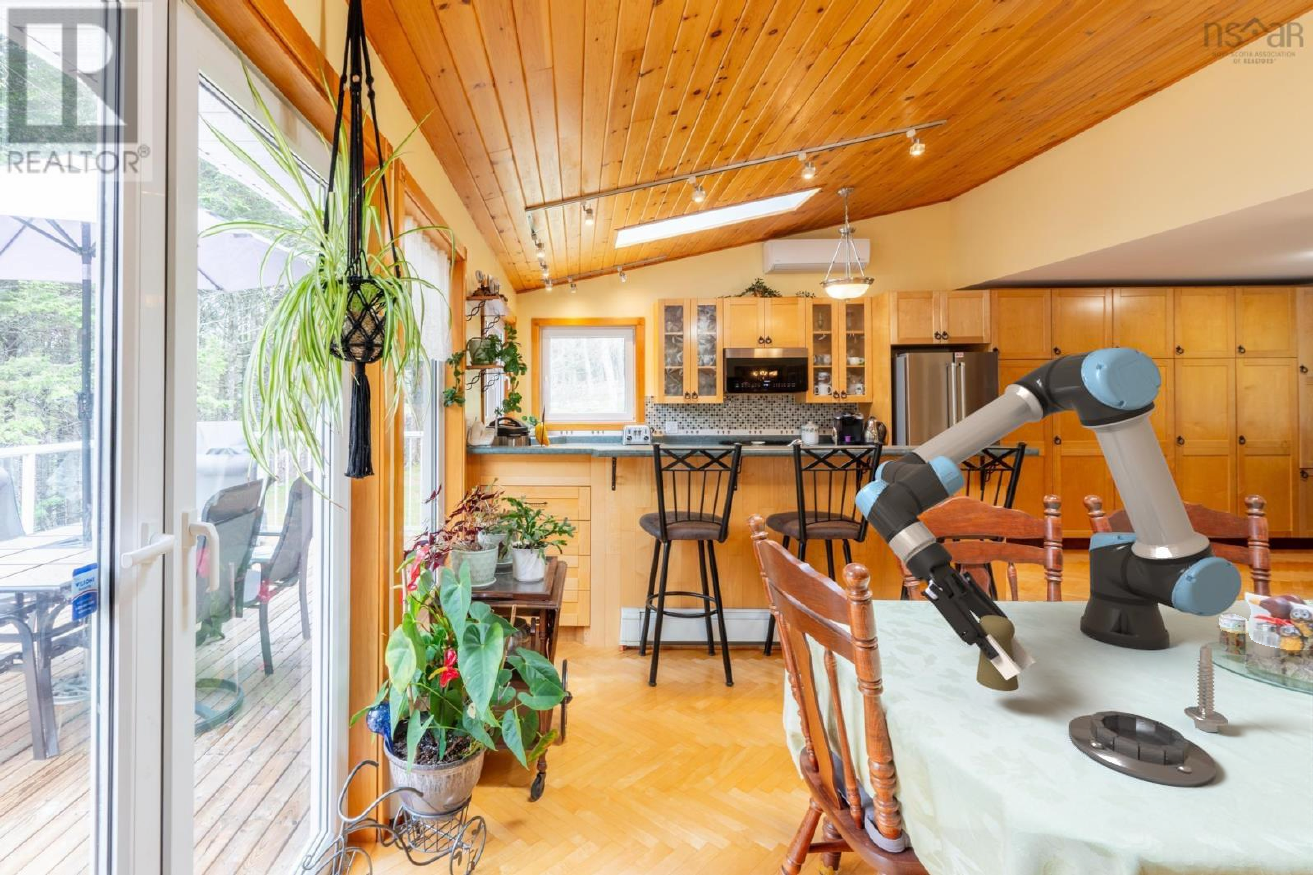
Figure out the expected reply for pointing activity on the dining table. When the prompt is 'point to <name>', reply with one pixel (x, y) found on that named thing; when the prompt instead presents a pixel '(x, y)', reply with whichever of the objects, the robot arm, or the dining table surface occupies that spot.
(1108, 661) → the dining table surface
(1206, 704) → the screw
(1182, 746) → the flange
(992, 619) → the cork
